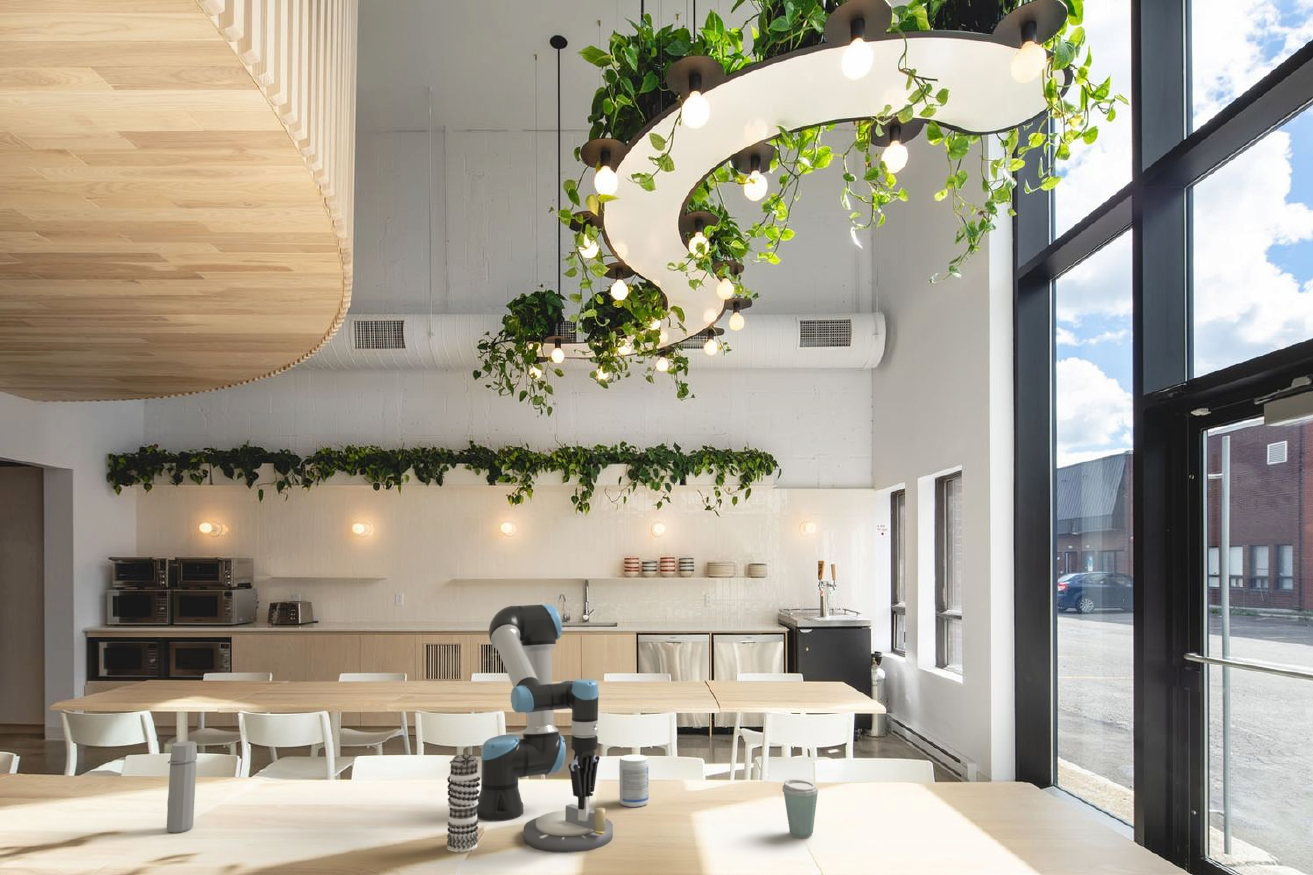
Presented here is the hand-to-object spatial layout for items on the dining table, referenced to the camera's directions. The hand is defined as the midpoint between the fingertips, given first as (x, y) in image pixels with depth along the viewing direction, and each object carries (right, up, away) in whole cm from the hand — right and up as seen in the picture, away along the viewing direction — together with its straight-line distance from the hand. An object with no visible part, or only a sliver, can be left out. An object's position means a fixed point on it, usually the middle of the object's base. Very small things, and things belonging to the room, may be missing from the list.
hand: (583, 819), depth 261 cm
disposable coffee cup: (+64, -8, +9) cm, 65 cm away
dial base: (-5, -8, +7) cm, 11 cm away
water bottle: (-123, -8, +13) cm, 123 cm away
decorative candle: (-34, -7, -2) cm, 35 cm away
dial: (-3, -4, +5) cm, 8 cm away
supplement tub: (+13, -11, +40) cm, 43 cm away
